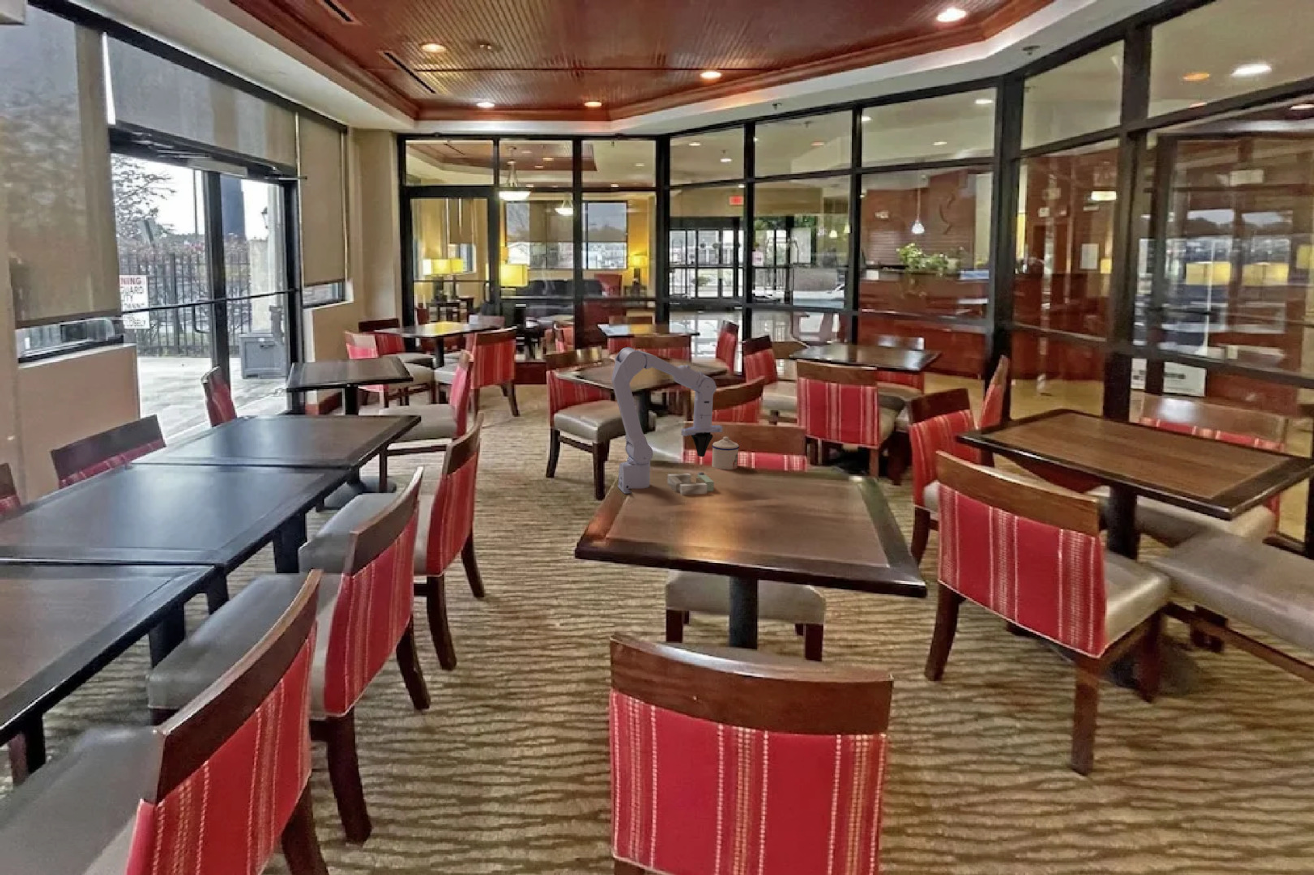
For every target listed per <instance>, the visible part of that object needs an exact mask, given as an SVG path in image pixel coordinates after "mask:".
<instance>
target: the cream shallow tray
mask: <svg viewBox="0 0 1314 875" xmlns="http://www.w3.org/2000/svg"><path fill="white" fill-rule="evenodd" d="M667 486H668V487H670V489H672V490H673V491H674V492H675V493H679V494H680V495H681V496H686V495H689V496H690V495H701V494H702V495H704V494H708V491H707V484H706V483H705V481H703V480H702V479H701V478H697V477H695V483H692V474H690V472H688V473H687V472H684V473H682V472H681V473H667Z"/></svg>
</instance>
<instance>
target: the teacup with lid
mask: <svg viewBox="0 0 1314 875" xmlns="http://www.w3.org/2000/svg"><path fill="white" fill-rule="evenodd" d="M711 447H712V455H711V457H712V460H711V466H712V468H714V469H717V470H735V469H737V468H738V463H739V460H738V459H739V448H740V446H739V444H738V443H737V442H734V441H733V440H731V439H730V437H729V436H723V438H722V439H720V440H718V441H714V442H713V443H712V446H711Z"/></svg>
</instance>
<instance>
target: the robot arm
mask: <svg viewBox="0 0 1314 875" xmlns="http://www.w3.org/2000/svg"><path fill="white" fill-rule="evenodd" d="M614 362H615V363H614V367H613V371H612V375H611V378H610V380H611V384H612V389H613V392H614V395H615V399H616V403H617V406H618V410H619V413H620V416H621V420H622V424H623V427H624V431H625V438H624V439H625V446H624V448H625V450H624V451H625V452H626V454H627V455H628V456H627V459H626V461H624V462H620V463H619V467H618V485H617V488H618V489H619V490H620V491H621V492H622V493H623V494H633V491H631V490H630V489H645V488H646V489H647V488H649V487H650V484H651V482H650V481H651V478H650V477H651V460H652V459H653V455H654V451H653V448H652V446H650V445H649V443H648V440H647V438H646V436H645V434H644V432H643V429H642V426H641V421H640V419H639V414H638V411H637V407H636V403H635V399H634V396H633V393H632V388H631V385H630V383H631V382H632V381H633V379H634V377H635V376H636V375H638V374H639V373H640V372H641V371H642V370H644V369H645V370H648V369H651V368H654V369H655V370H658V371H661V372H663V373H665V374H666V375H667V374H668V375H670V376H672V378H673V381H674V382H675V383H677V384H679V385H681V386H683V387H685V388H687V389H690V390H693V391H694V401H693V402H694V404H693V405H694V408H693V421H692V422H693V426H688V427H686V428H681V433H680V435H681V436H683V437H688V436H691V438H692V441H693V443H694V445H695V449H696V454H697V455H696V456H698V457H700V458H704V457H705V455H706V453H707V452H706V451H707V449H708V446H709V445H710V442H711V441H712V439H713V437H714V433H723V429H724V428H723V425H720V424H718V425H717V424H716V425H712V421H713V408H714V407H713V403H714V400H713V399H714V394H715V393H716V391H717V388H718V386H717V385H716V381H715V380H714V379H713V378H712V377H710V376H708V375H705V374H704V372H702V371H696V370H695V369H693V368H691V367H692V366H691V365H688V364H686V365H684V364H682V365H681V364H680V365H679V366H676V365H674V364H672V363H671V362H668V361H666V360H664V359H662V358H659V357H658V356H656V355H654V354H651V353H649V352H645V351H642V350H639V349H638V350H636V349H634V347H633V348H632V347H630V346H629V347H628V346H627V347H624V348H622V349H621V350H620V351H619V352H618V353H617V355H616V356H615V358H614ZM712 433H713V434H712Z"/></svg>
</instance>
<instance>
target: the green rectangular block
mask: <svg viewBox="0 0 1314 875" xmlns="http://www.w3.org/2000/svg"><path fill="white" fill-rule="evenodd" d="M696 476H697V477H696V478H701V479H702V480H703V481H705V483H706V484H707V492H714V488H715V486H714V484H715V482H714V480H712V479H711V478H710V477H709V476H708V475H706V473H704V472H702V471H699V472H698V473H697V475H696Z"/></svg>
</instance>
